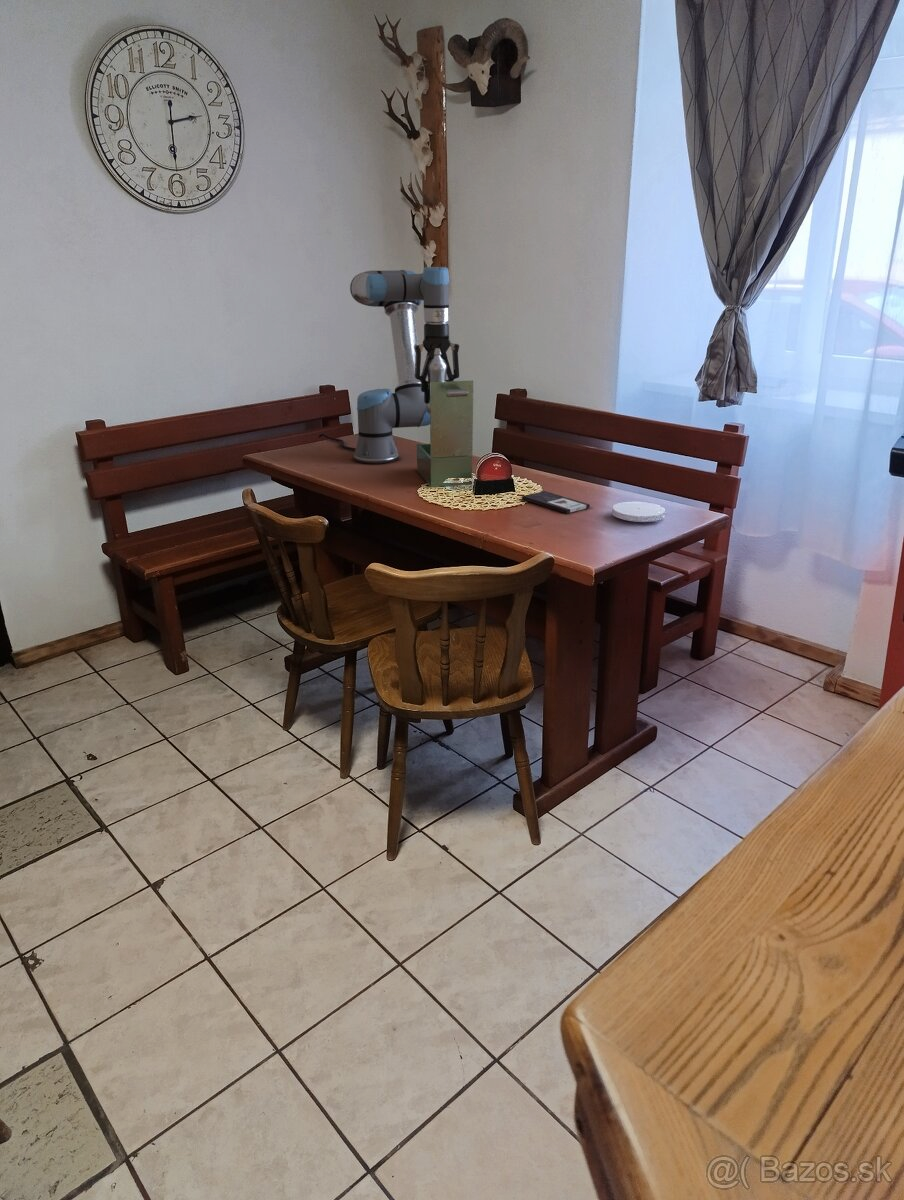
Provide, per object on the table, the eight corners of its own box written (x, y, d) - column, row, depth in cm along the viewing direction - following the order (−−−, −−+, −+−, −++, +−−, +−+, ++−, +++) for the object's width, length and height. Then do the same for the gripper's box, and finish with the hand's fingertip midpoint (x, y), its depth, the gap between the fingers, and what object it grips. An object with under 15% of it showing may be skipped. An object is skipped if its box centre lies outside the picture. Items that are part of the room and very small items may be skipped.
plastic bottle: (422, 416, 249) (422, 348, 241) (431, 412, 255) (431, 346, 247) (442, 417, 247) (441, 349, 239) (450, 414, 252) (450, 347, 245)
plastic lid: (601, 513, 222) (602, 504, 221) (645, 508, 227) (646, 499, 226) (629, 528, 210) (630, 518, 209) (675, 522, 215) (676, 513, 214)
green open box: (417, 470, 267) (416, 444, 264) (455, 468, 270) (455, 442, 267) (431, 487, 248) (430, 458, 245) (471, 484, 251) (472, 456, 247)
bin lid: (429, 382, 236) (435, 386, 229) (472, 380, 238) (479, 384, 232) (430, 457, 245) (435, 463, 238) (471, 454, 248) (478, 461, 241)
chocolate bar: (544, 490, 240) (589, 504, 227) (544, 494, 240) (589, 507, 227) (522, 496, 235) (566, 510, 222) (522, 499, 235) (566, 513, 222)
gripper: (407, 324, 235) (408, 405, 244) (470, 323, 239) (470, 403, 248) (402, 322, 242) (404, 401, 251) (464, 321, 246) (464, 399, 255)
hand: (437, 402), depth 249 cm, fingers closed on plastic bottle, 6 cm apart
